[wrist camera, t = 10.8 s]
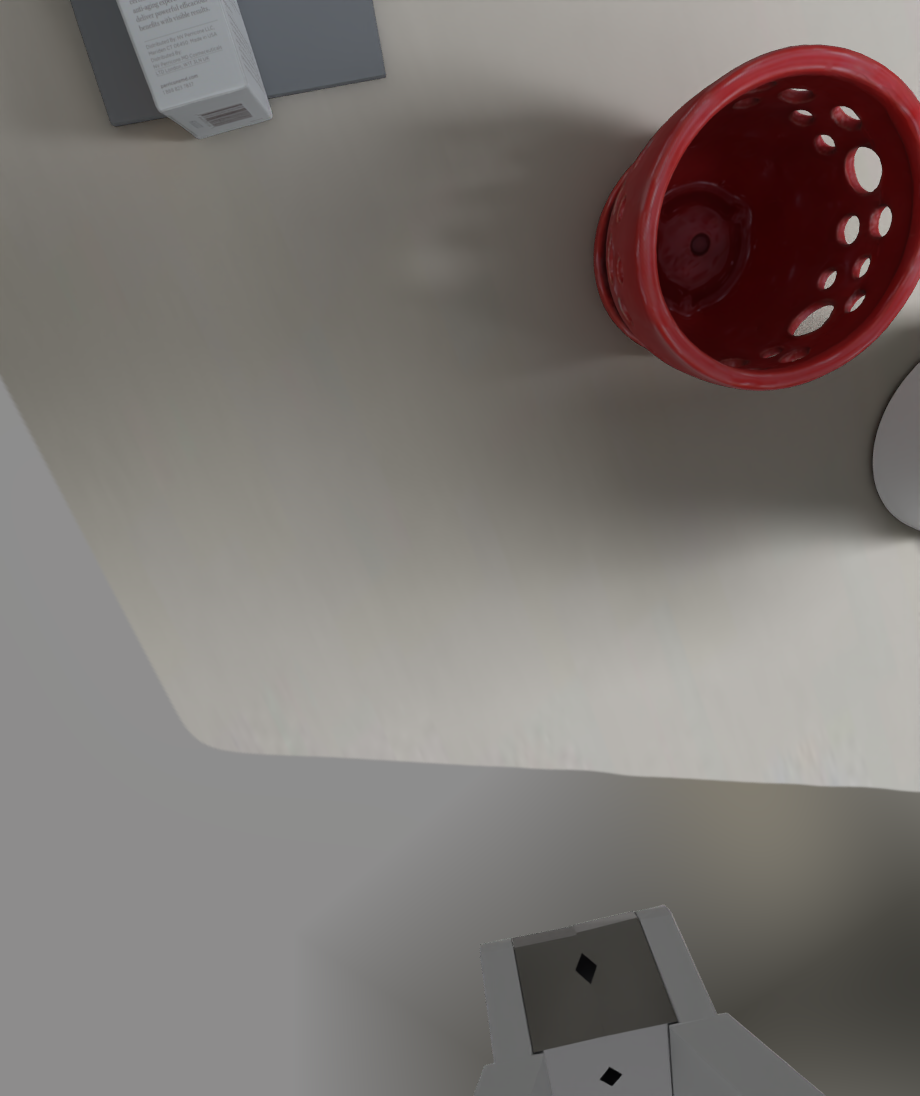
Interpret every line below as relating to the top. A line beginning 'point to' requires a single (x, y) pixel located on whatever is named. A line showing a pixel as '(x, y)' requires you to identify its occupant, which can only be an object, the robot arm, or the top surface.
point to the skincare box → (197, 63)
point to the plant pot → (766, 221)
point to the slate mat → (276, 39)
